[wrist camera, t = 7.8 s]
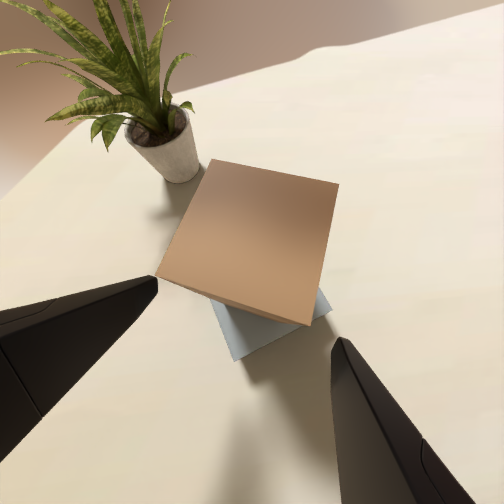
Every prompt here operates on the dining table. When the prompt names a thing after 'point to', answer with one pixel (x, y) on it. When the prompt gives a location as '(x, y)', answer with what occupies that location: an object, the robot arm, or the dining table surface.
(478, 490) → the dining table surface
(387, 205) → the dining table surface
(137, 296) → the robot arm
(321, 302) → the pedestal
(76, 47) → the house plant
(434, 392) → the dining table surface
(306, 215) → the wooden block
